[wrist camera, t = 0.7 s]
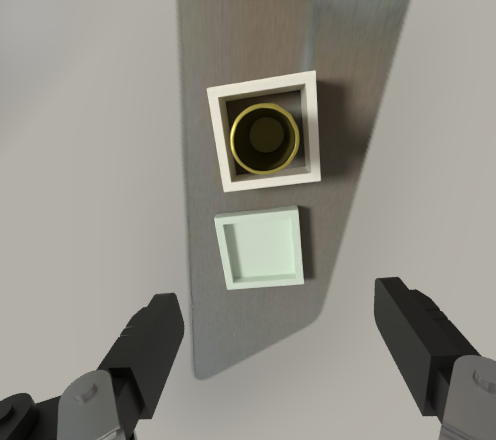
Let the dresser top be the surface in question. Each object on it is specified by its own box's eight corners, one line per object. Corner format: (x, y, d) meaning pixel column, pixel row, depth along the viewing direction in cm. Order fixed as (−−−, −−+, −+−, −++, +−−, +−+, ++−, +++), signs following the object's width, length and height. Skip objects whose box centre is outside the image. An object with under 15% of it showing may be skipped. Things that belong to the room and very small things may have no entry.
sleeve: (215, 93, 32) (206, 88, 28) (308, 78, 31) (315, 70, 26) (230, 183, 36) (224, 192, 31) (313, 173, 34) (320, 180, 30)
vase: (299, 145, 34) (319, 158, 20) (256, 168, 35) (247, 194, 21) (277, 98, 32) (283, 78, 19) (233, 124, 33) (208, 123, 20)
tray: (216, 213, 37) (214, 218, 35) (296, 205, 36) (298, 209, 34) (229, 282, 41) (227, 289, 39) (302, 276, 40) (303, 283, 38)
